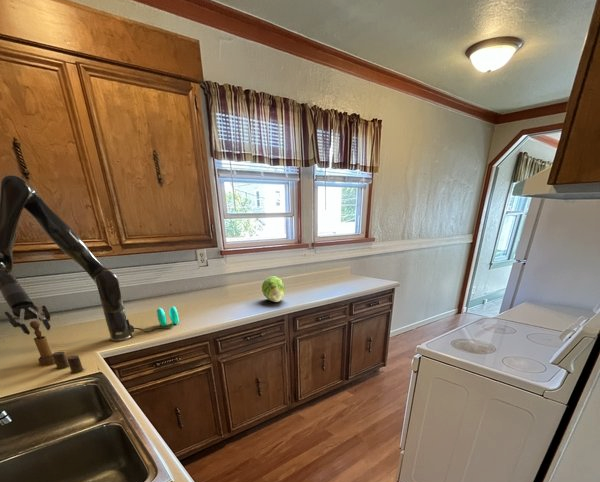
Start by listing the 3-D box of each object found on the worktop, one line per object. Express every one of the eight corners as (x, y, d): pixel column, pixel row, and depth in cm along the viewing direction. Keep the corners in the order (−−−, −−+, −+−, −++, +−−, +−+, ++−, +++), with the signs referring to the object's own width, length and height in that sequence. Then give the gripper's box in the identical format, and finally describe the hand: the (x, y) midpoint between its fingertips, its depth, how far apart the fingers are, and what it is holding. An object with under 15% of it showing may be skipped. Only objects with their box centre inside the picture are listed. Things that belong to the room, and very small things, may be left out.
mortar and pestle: (36, 364, 136) (19, 322, 128) (51, 358, 141) (36, 318, 133) (47, 366, 134) (30, 324, 126) (62, 361, 139) (47, 319, 131)
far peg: (81, 368, 133) (77, 354, 130) (84, 371, 130) (79, 357, 127) (70, 371, 130) (65, 357, 127) (73, 374, 128) (68, 359, 125)
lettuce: (276, 313, 234) (260, 297, 225) (270, 300, 252) (256, 285, 243) (293, 297, 230) (278, 280, 221) (286, 285, 248) (272, 269, 239)
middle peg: (67, 364, 136) (62, 350, 134) (70, 366, 134) (65, 353, 131) (56, 366, 134) (51, 353, 131) (58, 369, 131) (53, 355, 129)
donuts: (180, 325, 185) (177, 308, 181) (161, 328, 181) (158, 310, 176) (176, 321, 193) (173, 304, 188) (158, 324, 188) (155, 306, 184)
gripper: (-7, 294, 123) (16, 330, 123) (37, 288, 134) (59, 321, 133) (-5, 306, 129) (17, 341, 128) (37, 300, 139) (58, 331, 138)
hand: (38, 331), depth 130 cm, fingers open, 6 cm apart
